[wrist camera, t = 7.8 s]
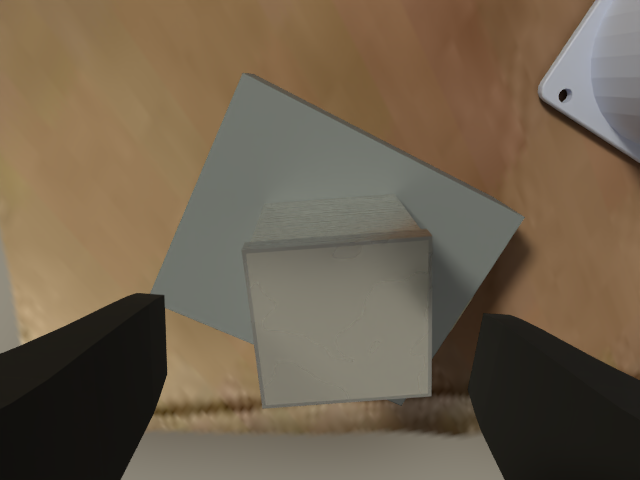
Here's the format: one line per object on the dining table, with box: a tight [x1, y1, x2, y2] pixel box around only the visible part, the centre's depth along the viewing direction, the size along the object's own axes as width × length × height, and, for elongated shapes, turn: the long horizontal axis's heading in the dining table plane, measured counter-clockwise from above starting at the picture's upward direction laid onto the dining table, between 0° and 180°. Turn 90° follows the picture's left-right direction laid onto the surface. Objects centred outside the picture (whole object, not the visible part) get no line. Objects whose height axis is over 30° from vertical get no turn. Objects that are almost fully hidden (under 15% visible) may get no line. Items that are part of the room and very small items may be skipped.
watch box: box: [150, 73, 525, 406], centre depth 19 cm, size 11×9×4 cm
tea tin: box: [242, 194, 433, 408], centre depth 15 cm, size 5×5×5 cm
